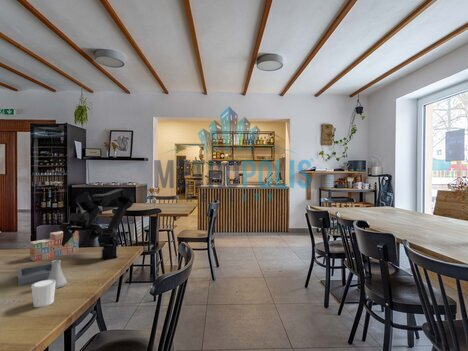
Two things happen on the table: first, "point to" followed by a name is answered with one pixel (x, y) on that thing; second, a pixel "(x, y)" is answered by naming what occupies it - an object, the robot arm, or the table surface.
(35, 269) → the tray
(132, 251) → the table surface
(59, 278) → the light grey vase
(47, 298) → the white cup
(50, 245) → the stack of blocks
